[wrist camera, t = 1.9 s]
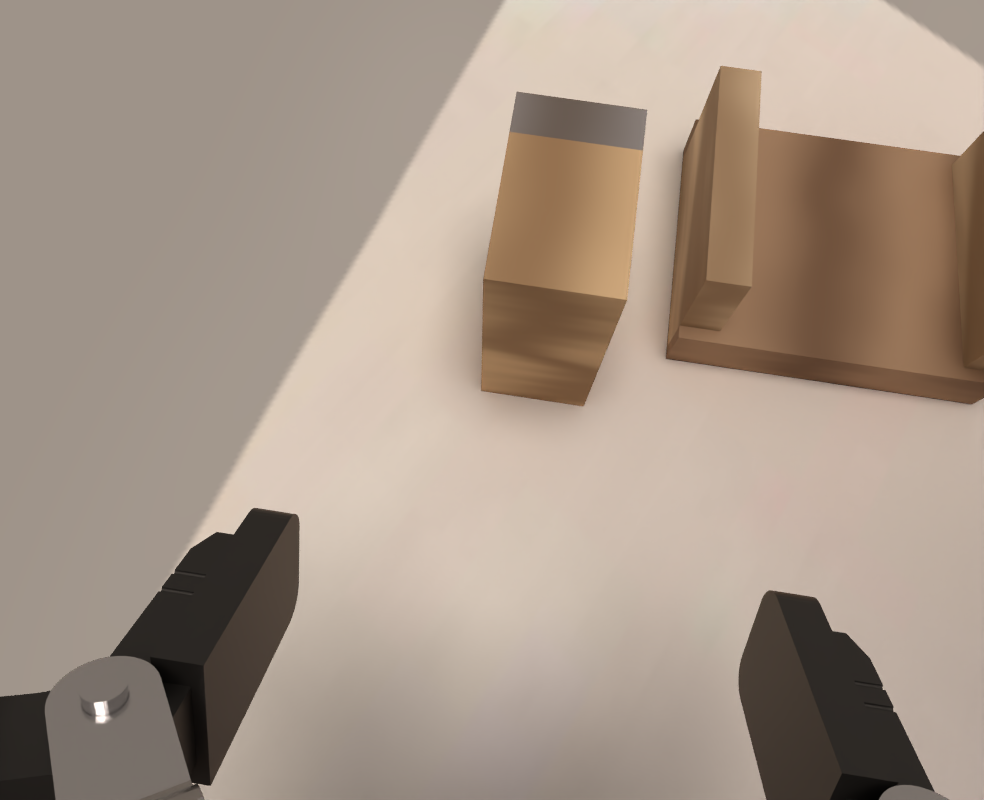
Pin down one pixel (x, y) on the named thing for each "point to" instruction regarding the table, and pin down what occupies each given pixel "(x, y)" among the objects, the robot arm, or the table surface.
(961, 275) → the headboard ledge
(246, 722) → the table surface
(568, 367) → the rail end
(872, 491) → the table surface
